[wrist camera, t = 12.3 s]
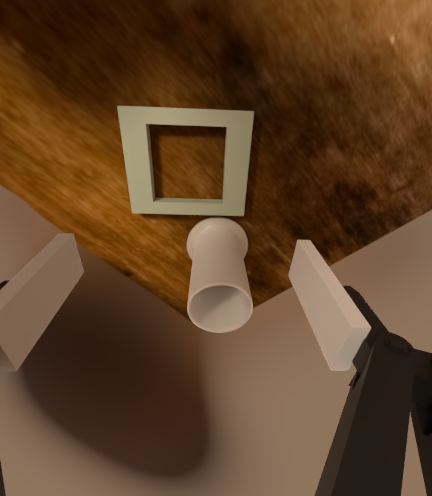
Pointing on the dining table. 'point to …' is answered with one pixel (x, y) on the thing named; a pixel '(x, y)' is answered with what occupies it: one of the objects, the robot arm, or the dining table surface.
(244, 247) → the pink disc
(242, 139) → the pale green rectangular frame
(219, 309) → the cup
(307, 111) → the dining table surface
